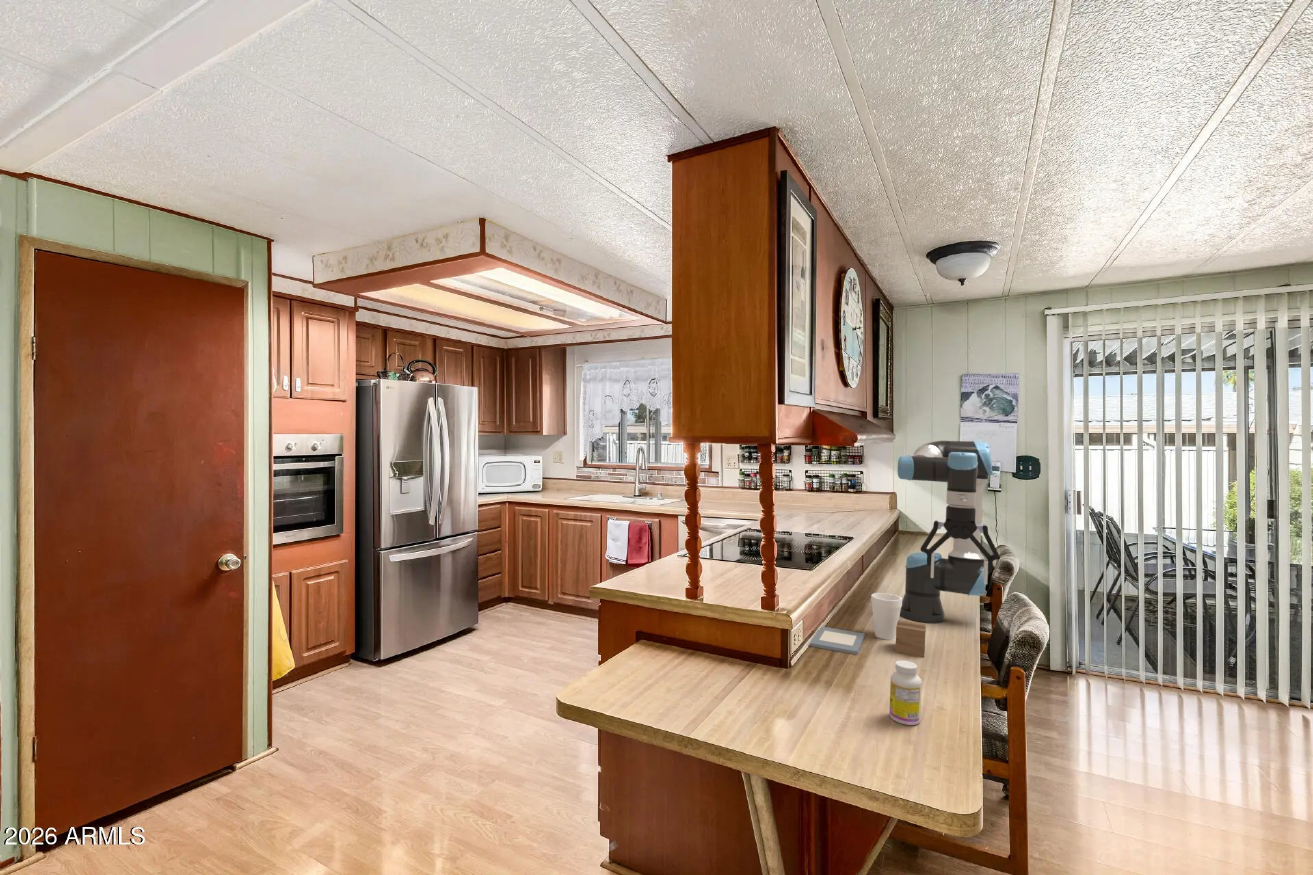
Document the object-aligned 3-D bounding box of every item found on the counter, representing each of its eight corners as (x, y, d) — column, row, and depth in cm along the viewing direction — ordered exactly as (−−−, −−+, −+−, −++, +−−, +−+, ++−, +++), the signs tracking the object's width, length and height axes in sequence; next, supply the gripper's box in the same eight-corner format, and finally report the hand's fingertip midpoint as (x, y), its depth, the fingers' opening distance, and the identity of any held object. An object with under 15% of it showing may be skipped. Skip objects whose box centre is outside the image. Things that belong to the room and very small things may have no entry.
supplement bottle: (894, 709, 143) (896, 656, 142) (923, 718, 138) (925, 663, 138) (885, 719, 137) (887, 664, 137) (915, 729, 133) (917, 672, 133)
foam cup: (863, 633, 197) (865, 594, 197) (884, 630, 201) (886, 591, 201) (885, 642, 189) (887, 602, 189) (907, 639, 193) (908, 599, 192)
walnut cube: (897, 644, 188) (898, 619, 188) (924, 649, 184) (925, 623, 184) (895, 652, 181) (896, 626, 180) (924, 657, 177) (925, 631, 177)
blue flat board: (820, 629, 200) (820, 625, 200) (864, 636, 194) (864, 633, 194) (810, 646, 184) (810, 642, 184) (857, 654, 178) (857, 650, 178)
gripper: (913, 504, 172) (910, 577, 172) (1013, 511, 162) (1010, 589, 162) (913, 501, 179) (911, 571, 179) (1009, 508, 168) (1006, 582, 169)
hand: (958, 580), depth 170 cm, fingers open, 13 cm apart
